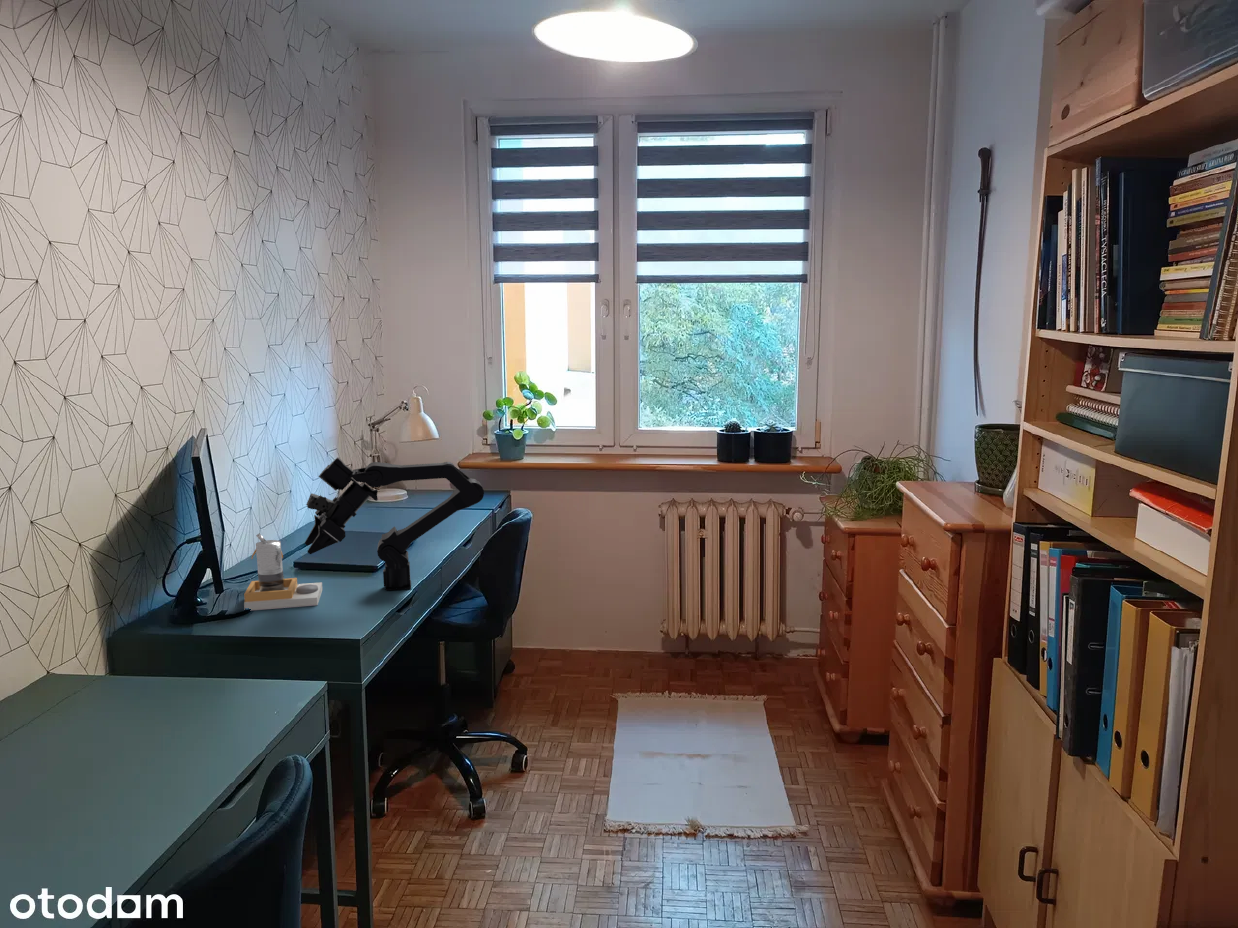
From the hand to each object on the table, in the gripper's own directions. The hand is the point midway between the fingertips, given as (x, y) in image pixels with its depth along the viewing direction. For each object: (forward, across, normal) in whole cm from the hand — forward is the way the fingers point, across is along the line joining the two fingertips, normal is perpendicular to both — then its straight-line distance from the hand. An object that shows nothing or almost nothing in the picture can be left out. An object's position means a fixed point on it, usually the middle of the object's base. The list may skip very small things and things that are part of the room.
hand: (307, 548), depth 226 cm
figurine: (+16, -15, +2) cm, 22 cm away
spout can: (+14, 0, +1) cm, 14 cm away
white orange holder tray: (+13, 0, +4) cm, 14 cm away
